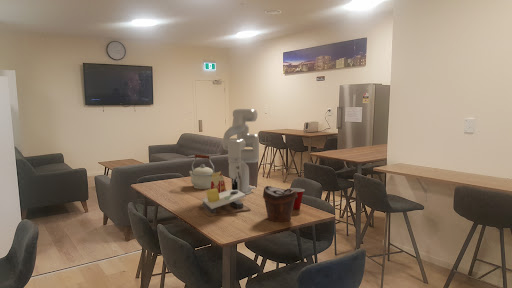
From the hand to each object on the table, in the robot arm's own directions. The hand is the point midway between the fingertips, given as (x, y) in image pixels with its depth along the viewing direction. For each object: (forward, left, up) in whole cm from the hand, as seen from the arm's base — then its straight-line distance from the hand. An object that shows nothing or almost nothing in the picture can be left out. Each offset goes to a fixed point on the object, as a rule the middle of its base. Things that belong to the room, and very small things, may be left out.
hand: (234, 189), depth 221 cm
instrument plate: (+7, 0, -5) cm, 9 cm away
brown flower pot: (-15, +30, -12) cm, 35 cm away
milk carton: (+4, -20, -12) cm, 24 cm away
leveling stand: (+7, 0, -12) cm, 13 cm away
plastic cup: (-34, +17, -12) cm, 39 cm away
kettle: (+2, -63, -12) cm, 64 cm away
